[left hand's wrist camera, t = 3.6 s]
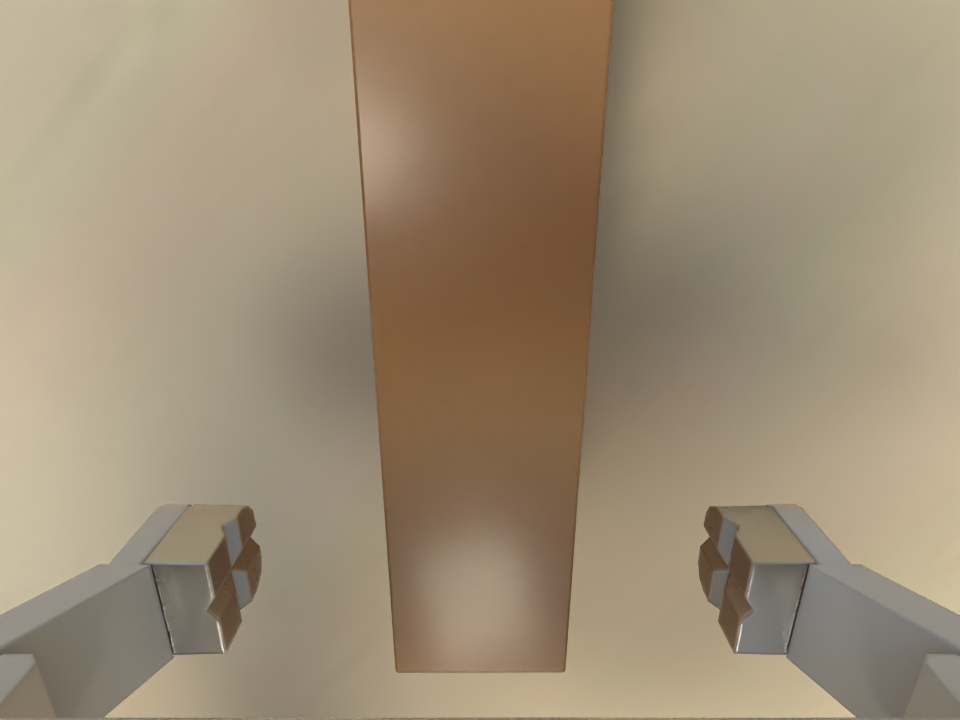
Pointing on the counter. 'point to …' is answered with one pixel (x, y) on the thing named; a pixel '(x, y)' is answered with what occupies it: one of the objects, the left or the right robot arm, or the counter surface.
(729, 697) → the counter surface
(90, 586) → the left robot arm
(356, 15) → the post
